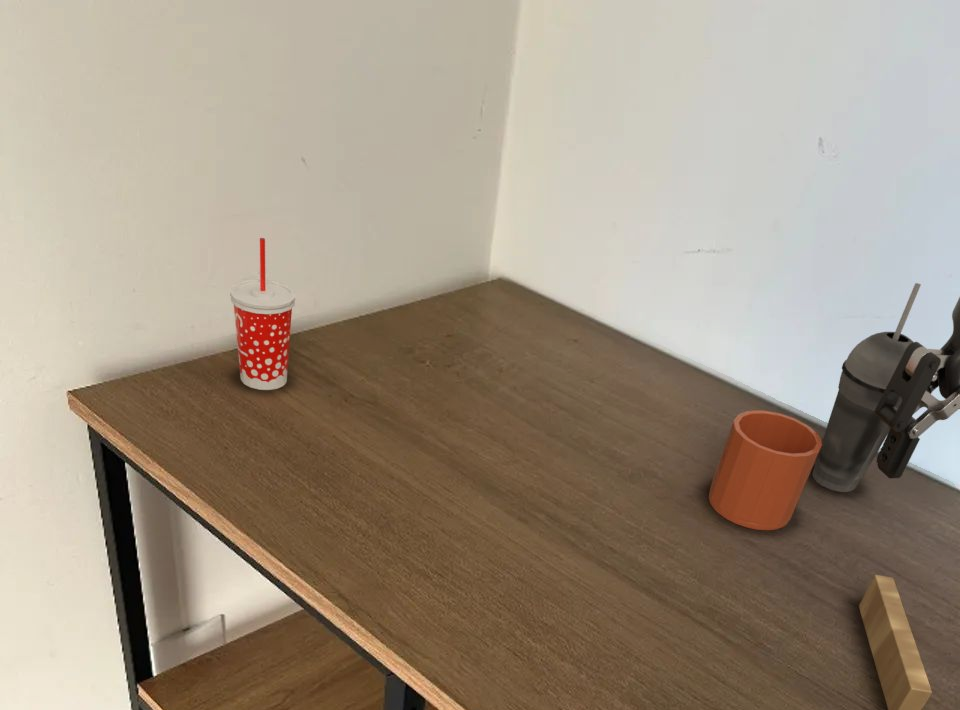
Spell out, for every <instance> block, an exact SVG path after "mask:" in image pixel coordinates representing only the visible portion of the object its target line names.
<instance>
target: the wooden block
mask: <svg viewBox="0 0 960 710" xmlns="http://www.w3.org/2000/svg"><path fill="white" fill-rule="evenodd" d="M858 608H859V609H858V610H859V611H860V616H861V620H862V623H863V627H864V630H865V633H866V636H867V641H868V644H869V648H870V651H871V654H872V658H873V661H874V665H875V669H876V673H877V676H878V679H879V682H880V687H881V690H882V694H883V696H884V700H885V704H886V707H887V710H922V709H923V708H924V706H925V705H926V703H927V702H928V700H929V699H930V697H931V696H932V694H933V691H932V688H931V685H930V682H929V679H928V676H927V673H926V670H925V667H924V663H923V661H922V658H921V655H920V651H919V649H918V646H917V644H916V640H915V637H914V635H913V631H912V629H911V626H910V622H909V620H908V617H907V614H906V610H905V608H904V605H903V603H902V599H901V596H900V593H899V590H898V587H897V584H896V582H895V579H894V578H893V577H890V576H885V575H880V574H874V576H873V577H872V579H871V581H870V583H869V585H868V587H867V589H866V591H865V593H864V595H863V596H862V599H861V601H860V603H859V604H858Z"/></svg>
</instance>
